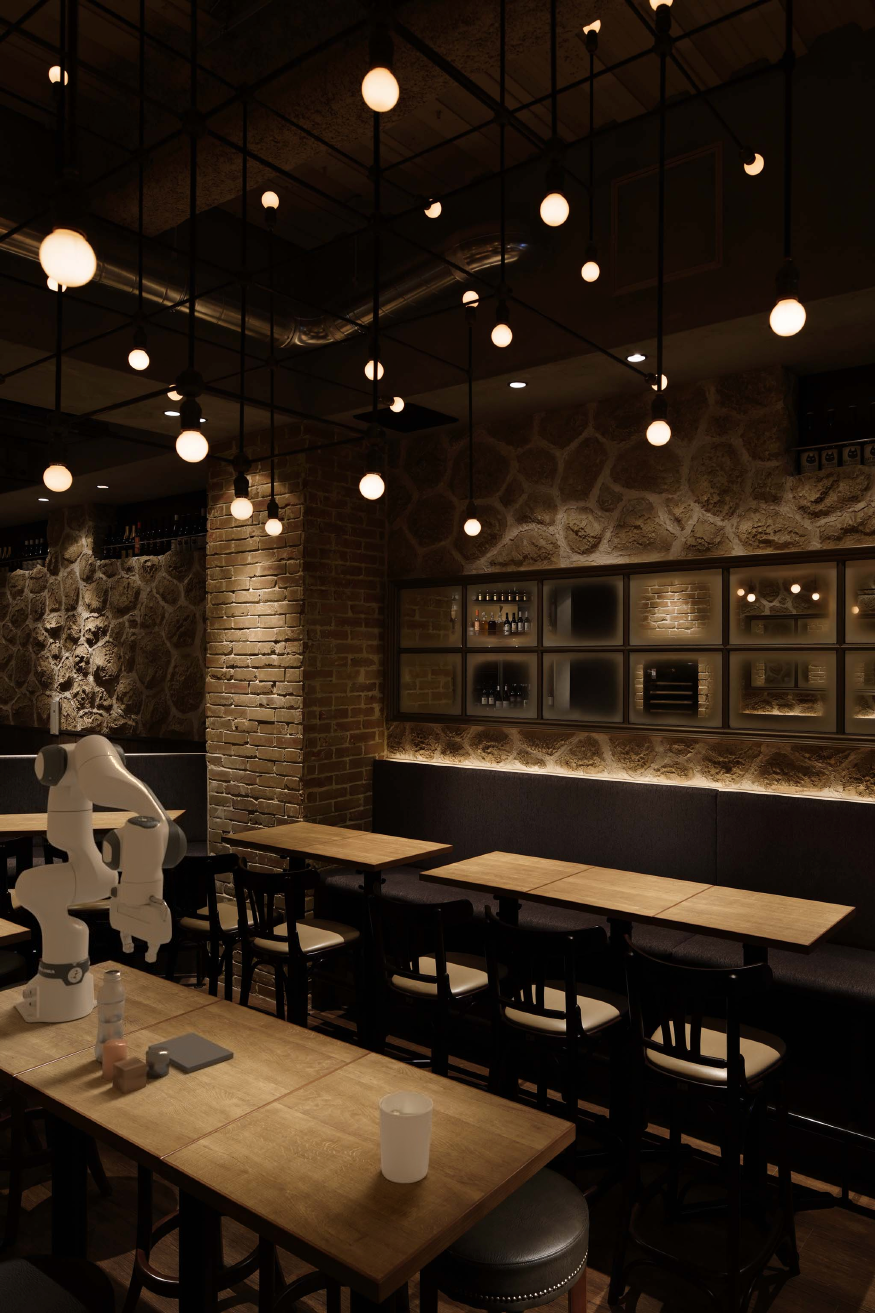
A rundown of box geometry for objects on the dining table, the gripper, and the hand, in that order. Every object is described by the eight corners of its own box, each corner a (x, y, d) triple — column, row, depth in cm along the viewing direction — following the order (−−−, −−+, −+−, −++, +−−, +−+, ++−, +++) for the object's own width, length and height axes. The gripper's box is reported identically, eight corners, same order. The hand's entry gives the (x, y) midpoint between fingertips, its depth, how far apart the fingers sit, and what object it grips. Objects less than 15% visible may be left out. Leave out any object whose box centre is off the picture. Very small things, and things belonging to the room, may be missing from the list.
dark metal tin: (141, 1074, 197) (141, 1051, 197) (161, 1067, 200) (162, 1045, 201) (152, 1081, 193) (153, 1058, 194) (173, 1074, 197) (173, 1051, 197)
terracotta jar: (97, 1075, 196) (98, 1043, 196) (119, 1068, 199) (120, 1037, 200) (108, 1082, 192) (110, 1049, 193) (130, 1075, 196) (131, 1043, 196)
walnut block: (112, 1087, 190) (113, 1063, 190) (133, 1080, 194) (134, 1056, 194) (124, 1094, 187) (125, 1070, 187) (145, 1087, 191) (146, 1063, 191)
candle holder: (376, 1157, 164) (378, 1091, 164) (429, 1156, 165) (431, 1090, 165) (377, 1187, 154) (379, 1116, 155) (433, 1185, 155) (435, 1115, 155)
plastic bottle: (129, 1055, 206) (132, 968, 207) (115, 1067, 200) (119, 977, 201) (102, 1053, 207) (105, 967, 208) (88, 1066, 200) (91, 976, 201)
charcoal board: (148, 1051, 209) (148, 1046, 209) (192, 1037, 218) (193, 1032, 218) (188, 1073, 198) (188, 1068, 198) (233, 1057, 206) (233, 1052, 207)
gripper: (180, 898, 189) (178, 964, 188) (131, 883, 203) (129, 944, 202) (153, 903, 184) (151, 970, 184) (105, 887, 198) (102, 949, 197)
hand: (139, 956), depth 193 cm, fingers open, 8 cm apart
